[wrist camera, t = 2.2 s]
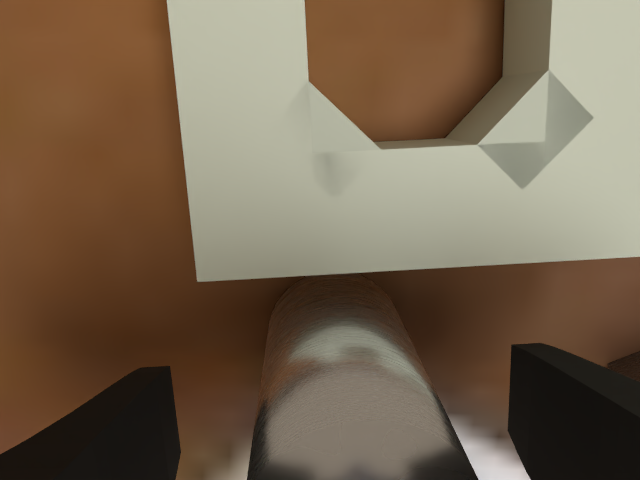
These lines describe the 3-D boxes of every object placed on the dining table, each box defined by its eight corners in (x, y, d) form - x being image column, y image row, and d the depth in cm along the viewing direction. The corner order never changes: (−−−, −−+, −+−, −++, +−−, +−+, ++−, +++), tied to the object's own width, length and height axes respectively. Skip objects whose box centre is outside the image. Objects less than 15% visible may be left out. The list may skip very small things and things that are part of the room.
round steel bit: (400, 389, 15) (483, 620, 8) (272, 397, 15) (250, 637, 8) (399, 266, 14) (490, 412, 7) (263, 274, 14) (229, 428, 7)
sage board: (888, 213, 14) (1008, 235, 12) (215, 251, 14) (197, 282, 11) (971, -175, 12) (1137, -245, 10) (176, -145, 12) (143, -211, 9)
